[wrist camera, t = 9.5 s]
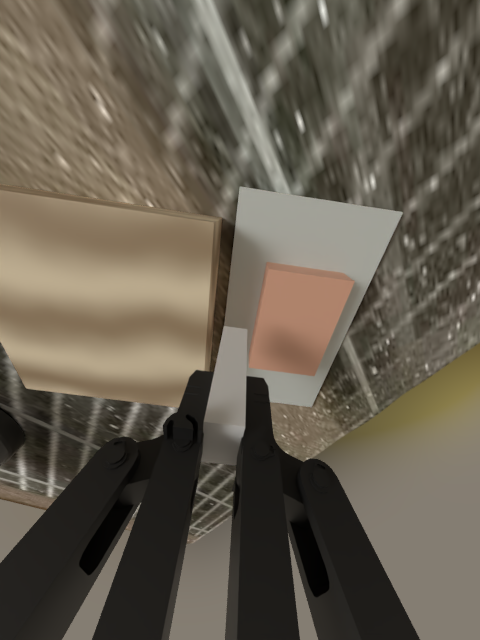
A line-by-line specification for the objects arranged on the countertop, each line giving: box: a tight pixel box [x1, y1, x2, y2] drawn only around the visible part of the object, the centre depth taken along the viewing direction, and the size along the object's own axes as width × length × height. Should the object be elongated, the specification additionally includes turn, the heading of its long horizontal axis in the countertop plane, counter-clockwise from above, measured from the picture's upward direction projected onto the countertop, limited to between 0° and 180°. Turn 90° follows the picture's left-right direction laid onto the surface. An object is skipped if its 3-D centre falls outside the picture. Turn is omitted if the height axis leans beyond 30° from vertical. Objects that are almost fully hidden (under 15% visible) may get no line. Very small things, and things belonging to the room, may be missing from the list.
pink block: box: [249, 262, 355, 376], centre depth 17 cm, size 9×6×2 cm, turn 173°
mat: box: [224, 187, 403, 407], centre depth 19 cm, size 20×11×1 cm, turn 172°
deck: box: [0, 184, 222, 408], centre depth 17 cm, size 16×16×4 cm
